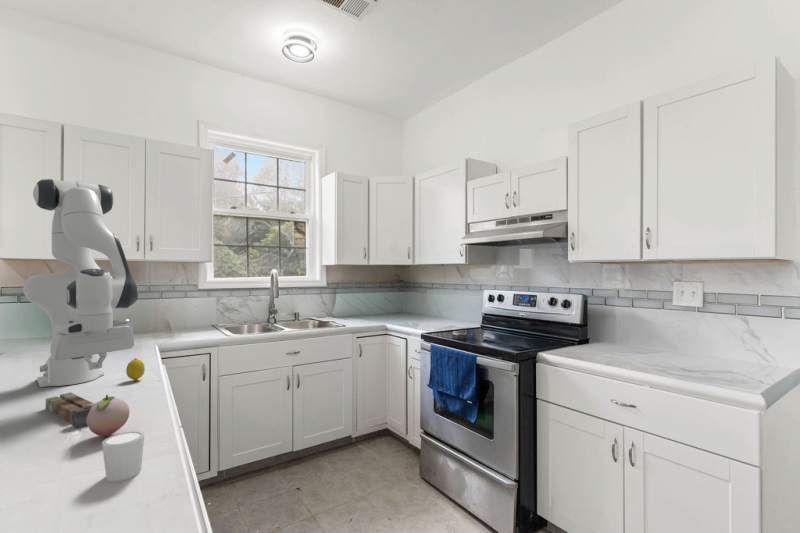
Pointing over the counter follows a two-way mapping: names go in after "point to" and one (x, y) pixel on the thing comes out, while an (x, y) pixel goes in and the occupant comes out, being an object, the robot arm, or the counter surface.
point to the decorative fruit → (107, 416)
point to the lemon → (135, 369)
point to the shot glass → (123, 455)
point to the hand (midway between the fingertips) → (95, 368)
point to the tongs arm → (75, 399)
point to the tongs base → (68, 411)
